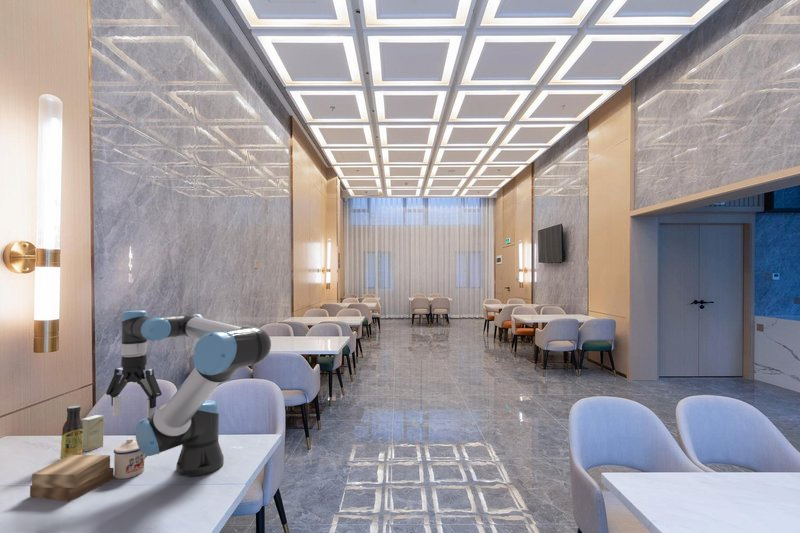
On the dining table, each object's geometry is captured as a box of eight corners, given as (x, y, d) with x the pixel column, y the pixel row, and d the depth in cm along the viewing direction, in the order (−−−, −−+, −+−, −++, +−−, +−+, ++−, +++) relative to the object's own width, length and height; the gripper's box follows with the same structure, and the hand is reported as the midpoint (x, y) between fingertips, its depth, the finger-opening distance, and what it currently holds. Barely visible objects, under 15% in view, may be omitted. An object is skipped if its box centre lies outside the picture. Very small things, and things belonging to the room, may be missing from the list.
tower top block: (110, 467, 142) (110, 455, 142) (75, 487, 128) (75, 474, 128) (70, 466, 142) (70, 454, 142) (31, 487, 128) (31, 474, 128)
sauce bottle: (64, 467, 150) (65, 410, 150) (57, 463, 153) (58, 408, 154) (85, 460, 155) (86, 405, 156) (78, 456, 159) (79, 403, 159)
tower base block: (113, 479, 141) (113, 467, 141) (70, 503, 126) (70, 490, 126) (76, 476, 144) (76, 464, 144) (29, 499, 129) (30, 485, 129)
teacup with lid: (127, 481, 139) (127, 445, 139) (106, 477, 141) (107, 442, 142) (158, 465, 150) (158, 432, 151) (138, 462, 153) (138, 430, 153)
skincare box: (87, 451, 163) (88, 420, 163) (79, 450, 165) (80, 419, 165) (103, 445, 169) (104, 415, 169) (96, 444, 170) (96, 414, 171)
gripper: (173, 354, 149) (172, 414, 148) (113, 352, 153) (112, 410, 153) (157, 357, 141) (156, 421, 141) (94, 355, 146) (93, 417, 145)
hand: (133, 416), depth 147 cm, fingers open, 13 cm apart
